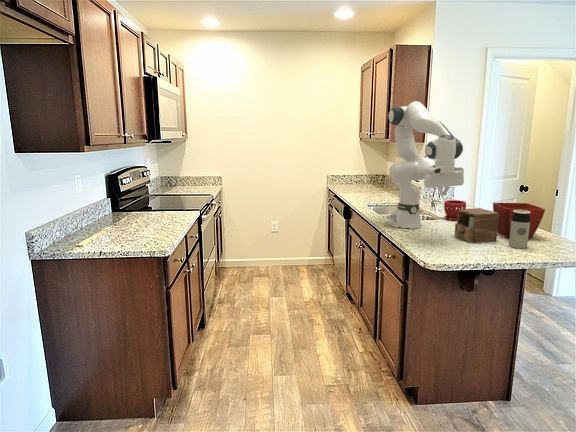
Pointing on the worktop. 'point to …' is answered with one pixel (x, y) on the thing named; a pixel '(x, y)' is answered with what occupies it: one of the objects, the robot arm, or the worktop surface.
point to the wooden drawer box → (480, 223)
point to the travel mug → (519, 229)
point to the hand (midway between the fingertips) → (443, 195)
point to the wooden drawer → (464, 232)
